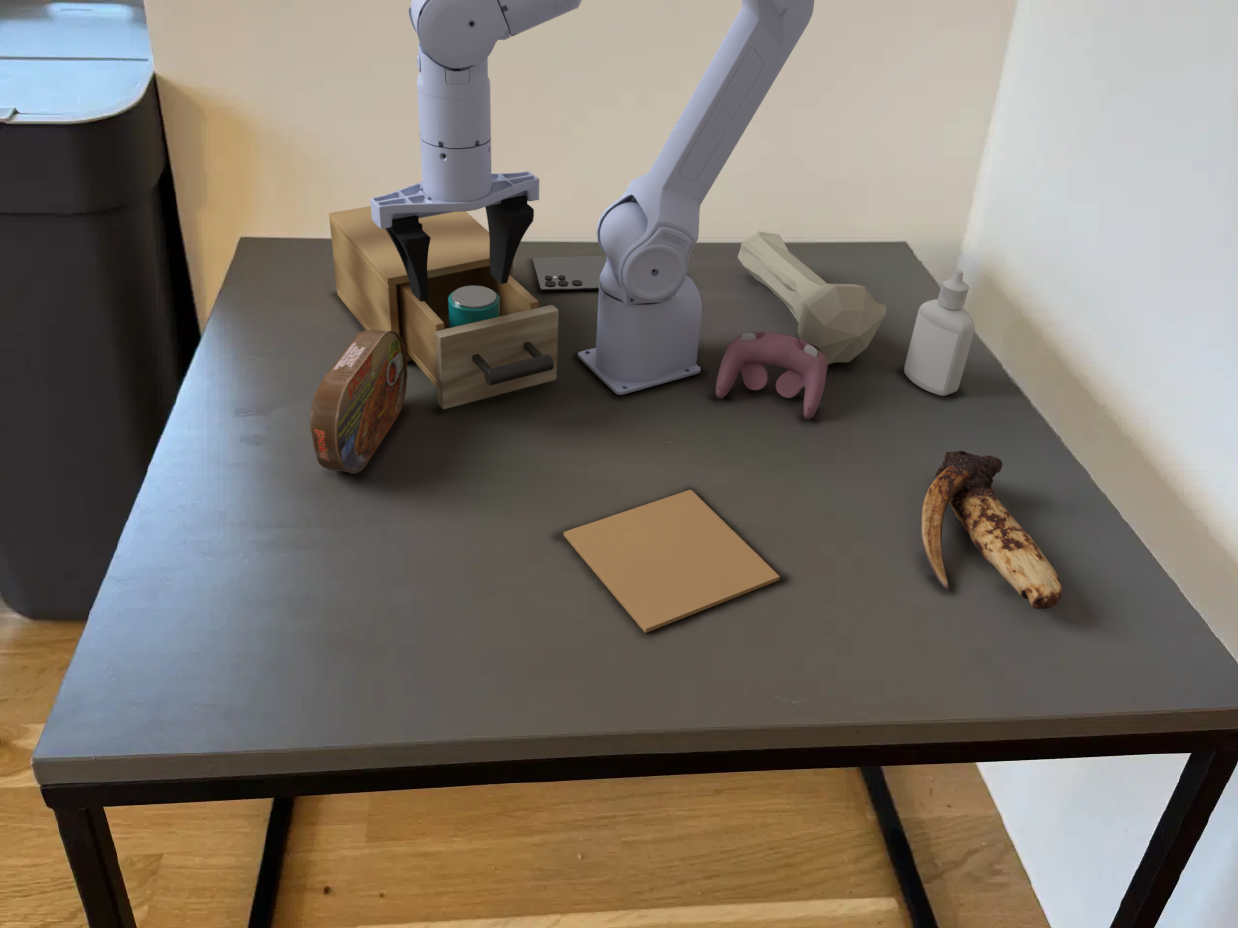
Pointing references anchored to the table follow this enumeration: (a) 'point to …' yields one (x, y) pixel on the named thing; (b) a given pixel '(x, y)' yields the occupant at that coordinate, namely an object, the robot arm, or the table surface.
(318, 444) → the tin
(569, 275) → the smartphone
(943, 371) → the eye dropper bottle
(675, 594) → the mat
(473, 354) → the drawer
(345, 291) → the cabinet
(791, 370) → the video game controller
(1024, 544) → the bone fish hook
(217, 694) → the table surface
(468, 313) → the can
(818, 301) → the faceted club
